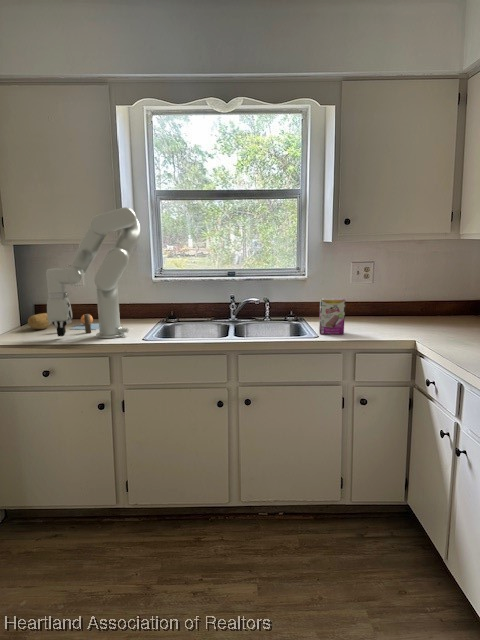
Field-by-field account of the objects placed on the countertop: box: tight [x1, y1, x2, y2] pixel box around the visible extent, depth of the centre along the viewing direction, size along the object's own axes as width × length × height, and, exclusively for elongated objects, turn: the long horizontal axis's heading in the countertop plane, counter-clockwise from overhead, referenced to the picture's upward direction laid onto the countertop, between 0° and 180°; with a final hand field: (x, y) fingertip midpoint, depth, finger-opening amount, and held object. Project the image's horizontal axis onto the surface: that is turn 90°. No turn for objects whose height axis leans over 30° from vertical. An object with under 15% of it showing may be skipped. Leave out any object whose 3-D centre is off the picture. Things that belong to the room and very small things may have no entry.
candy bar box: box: [318, 297, 346, 336], centre depth 202 cm, size 11×5×16 cm, turn 85°
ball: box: [80, 314, 94, 325], centre depth 229 cm, size 6×6×6 cm
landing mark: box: [69, 323, 99, 331], centre depth 226 cm, size 14×14×1 cm
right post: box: [83, 313, 92, 334], centre depth 210 cm, size 3×3×9 cm
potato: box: [27, 312, 51, 330], centre depth 221 cm, size 10×14×8 cm
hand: (61, 335), depth 199 cm, fingers closed
